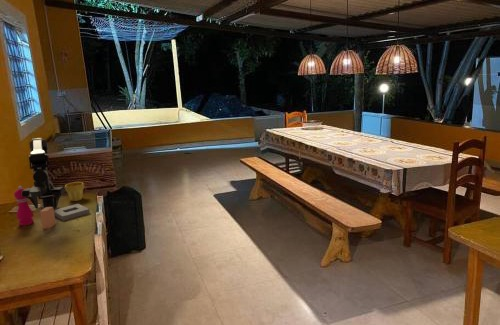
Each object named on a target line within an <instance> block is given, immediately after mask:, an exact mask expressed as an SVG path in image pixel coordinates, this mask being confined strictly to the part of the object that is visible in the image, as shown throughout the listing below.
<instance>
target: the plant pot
mask: <svg viewBox="0 0 500 325" xmlns="http://www.w3.org/2000/svg"><path fill="white" fill-rule="evenodd" d="M64 188H65V190H66V193H67V195H68V198H69V200H70V201H71V202H76V201H81V200H83V193H84V189H85V185H84V182H82V181H74V182H70V183H66V184H65V185H64Z"/></svg>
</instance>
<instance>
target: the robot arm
mask: <svg viewBox="0 0 500 325" xmlns="http://www.w3.org/2000/svg"><path fill="white" fill-rule="evenodd" d="M29 149H30V150H29V151H30V152H29V155H28V160H29V161H28V163H29V169H30V170H33V173H32V175H33V176H32V178H33V186H32V187H27V188H24V189H25V190H23V191H22V193H21V194H22V197H25V198H28V200H29V201H30V202H31V203H32V204H33V206H34V208H35V209H36V210H37V209H38V208H39V201H38V199H39V200H42V207H41V208H40V210H43V209H44V208H46V207H53V209H54V208H55V209H57V208H58V204H59V200H60V199H61V196H62V195H63V194H64V193H67V191H66V190H65V186H56V187H55V186H54V183H53V182H52V181H51V177H49V173H48V168H49V165H51V164H50V158H49V155H48V150H49V145H48V141H47V140H45V139H43V137H37V138H32V139H31V141H30V142H29Z"/></svg>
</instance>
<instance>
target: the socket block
mask: <svg viewBox="0 0 500 325" xmlns="http://www.w3.org/2000/svg"><path fill="white" fill-rule="evenodd" d="M88 214H90V208H88V207H86V206H84V205H81V204H80V203H75V204H71V205H69V206H63V207H61V208H58V209H57V208H55V209H54V215H55V218H57V219H59V220H61V221H63V222H64V221H67V220H71V219H74V218H78V217H82V216H85V215H88Z"/></svg>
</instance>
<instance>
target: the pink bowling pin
mask: <svg viewBox="0 0 500 325" xmlns="http://www.w3.org/2000/svg"><path fill="white" fill-rule="evenodd" d="M25 189H26V188H23V186H21V185H18V188H17V189H16V190H14V194H13V195H14V197H15V198H16V203H17V204H18V205H17V206H18V207H17V208H18V209H17V211H16V218H17V220H19V221H18V224H19V226H28V225H31V224H33V223H34V218H33V216H34V212H33V210H32V208H31V207H30V206H29V203H28V201H29V199H28V198H25V197H22V194H21V193H22V191H23V190H25Z"/></svg>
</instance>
